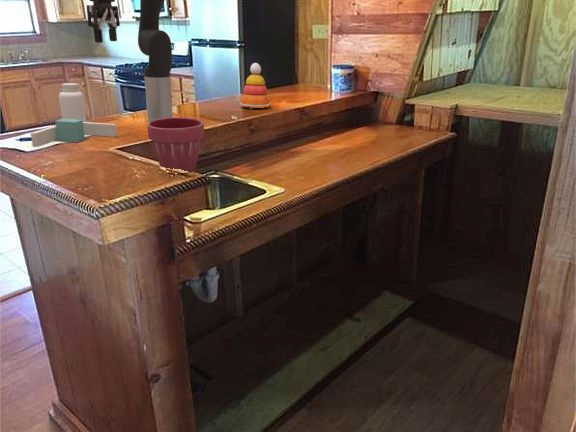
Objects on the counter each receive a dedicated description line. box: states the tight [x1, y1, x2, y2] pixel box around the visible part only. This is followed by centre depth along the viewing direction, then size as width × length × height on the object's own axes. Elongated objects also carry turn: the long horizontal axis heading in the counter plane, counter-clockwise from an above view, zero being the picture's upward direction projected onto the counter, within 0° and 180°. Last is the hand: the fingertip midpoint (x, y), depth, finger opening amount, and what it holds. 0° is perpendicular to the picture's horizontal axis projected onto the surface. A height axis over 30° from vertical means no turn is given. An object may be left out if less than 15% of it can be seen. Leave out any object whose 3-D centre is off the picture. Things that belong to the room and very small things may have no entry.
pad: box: [53, 136, 90, 144], centre depth 162 cm, size 6×8×1 cm
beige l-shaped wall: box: [30, 121, 118, 147], centre depth 160 cm, size 20×17×4 cm
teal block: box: [54, 118, 86, 141], centre depth 161 cm, size 7×4×6 cm, turn 79°
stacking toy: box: [239, 62, 272, 107], centre depth 224 cm, size 14×14×20 cm
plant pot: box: [147, 116, 205, 173], centre depth 132 cm, size 14×14×13 cm
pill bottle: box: [58, 82, 87, 122], centre depth 178 cm, size 8×8×15 cm
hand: (106, 41), depth 155 cm, fingers open, 8 cm apart
